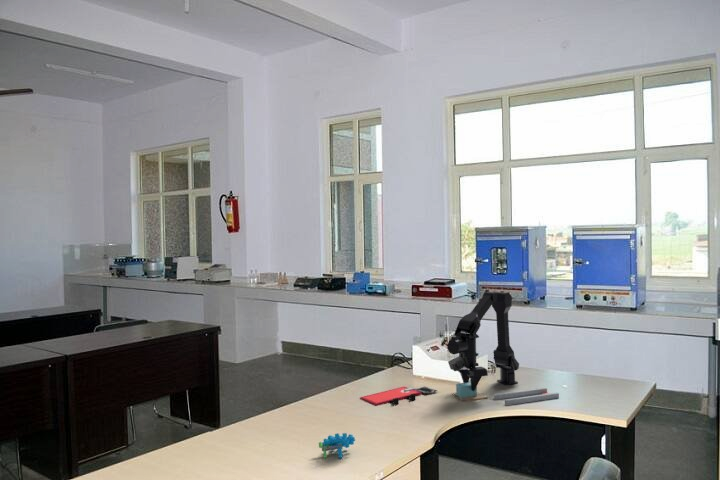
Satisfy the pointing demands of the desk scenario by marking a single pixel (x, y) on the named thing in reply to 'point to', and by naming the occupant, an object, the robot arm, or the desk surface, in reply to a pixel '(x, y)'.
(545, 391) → the channel
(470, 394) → the teal block
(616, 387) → the desk surface
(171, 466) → the desk surface
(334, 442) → the blue plastic figure
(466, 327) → the robot arm
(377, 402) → the red board with handle
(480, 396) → the walnut pad
